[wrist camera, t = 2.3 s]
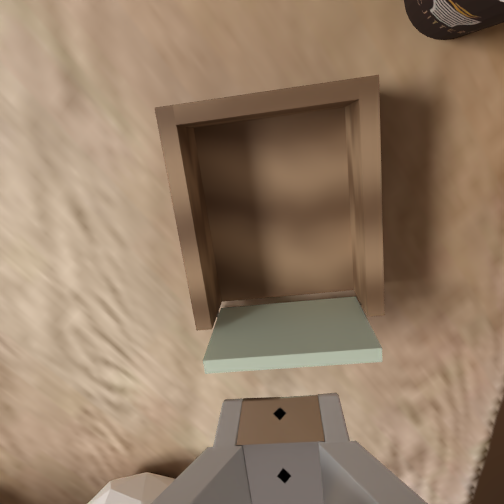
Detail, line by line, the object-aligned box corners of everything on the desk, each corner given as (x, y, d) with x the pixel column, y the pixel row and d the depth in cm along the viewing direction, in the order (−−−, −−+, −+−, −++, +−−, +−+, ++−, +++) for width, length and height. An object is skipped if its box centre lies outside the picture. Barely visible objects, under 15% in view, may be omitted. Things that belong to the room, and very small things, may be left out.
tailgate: (221, 307, 31) (202, 360, 24) (355, 296, 30) (381, 348, 23) (223, 321, 32) (205, 377, 24) (356, 310, 31) (382, 365, 23)
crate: (179, 114, 29) (154, 107, 23) (357, 89, 27) (379, 74, 22) (212, 309, 33) (199, 344, 28) (365, 296, 32) (385, 330, 26)
